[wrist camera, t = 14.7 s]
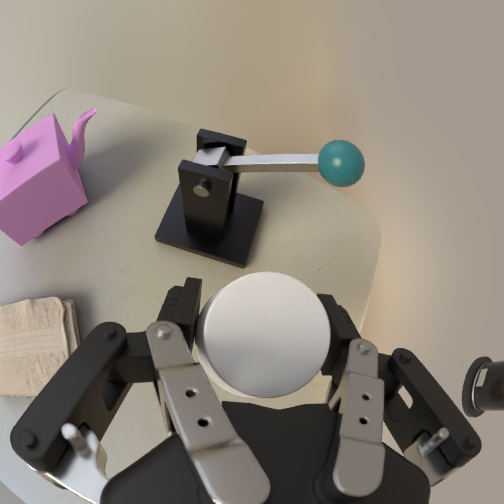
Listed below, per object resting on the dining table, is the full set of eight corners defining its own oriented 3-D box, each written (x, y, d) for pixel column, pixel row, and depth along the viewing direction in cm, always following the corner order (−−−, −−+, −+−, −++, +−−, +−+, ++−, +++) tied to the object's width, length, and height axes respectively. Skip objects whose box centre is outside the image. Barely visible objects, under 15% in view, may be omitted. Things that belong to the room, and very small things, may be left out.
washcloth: (97, 392, 24) (87, 395, 21) (1, 398, 19) (-12, 399, 16) (77, 294, 27) (66, 287, 24) (-13, 316, 23) (-25, 311, 20)
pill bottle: (212, 294, 19) (216, 237, 10) (287, 315, 20) (354, 277, 10) (190, 370, 17) (170, 388, 8) (269, 390, 17) (326, 420, 8)
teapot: (15, 258, 27) (-38, 219, 15) (9, 206, 29) (-32, 162, 18) (127, 188, 33) (102, 121, 22) (108, 144, 35) (88, 82, 24)
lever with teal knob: (364, 164, 20) (363, 131, 17) (364, 198, 19) (364, 164, 16) (214, 165, 26) (198, 139, 23) (201, 194, 24) (182, 168, 21)
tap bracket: (262, 205, 35) (287, 136, 23) (243, 268, 32) (264, 216, 20) (183, 182, 35) (177, 108, 23) (156, 241, 31) (131, 177, 19)
